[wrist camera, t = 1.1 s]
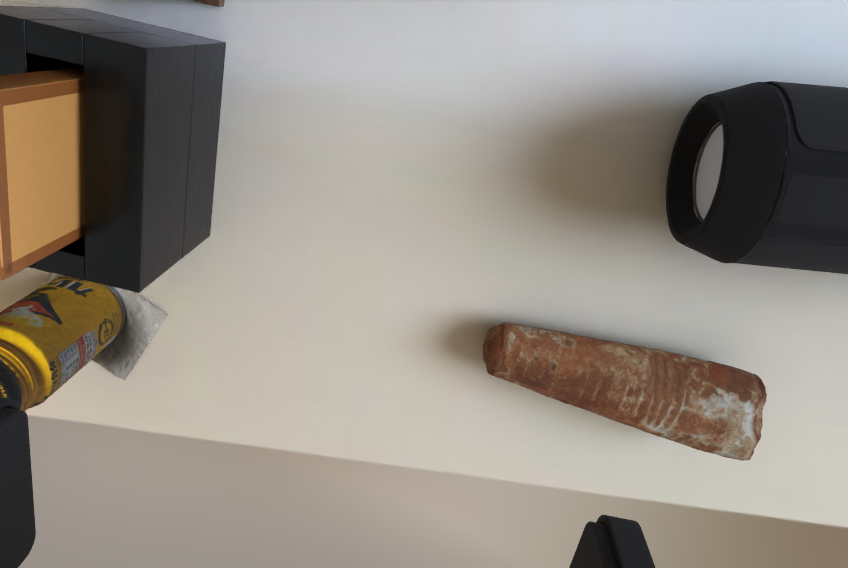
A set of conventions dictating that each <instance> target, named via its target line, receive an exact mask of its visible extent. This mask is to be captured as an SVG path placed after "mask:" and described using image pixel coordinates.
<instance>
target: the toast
mask: <svg viewBox="0 0 848 568" xmlns="http://www.w3.org/2000/svg"><path fill="white" fill-rule="evenodd" d="M83 236H85V228H84V66H83V67H74V68H65V69H56V70H47V71H38V72H29V73H20V74H11V75H2V76H0V280H5V279H6V278H8V277H10V276H12V275H14V274H16V273H17V272H19V271H21V270H23V269H25V268H26V267H28V266H30V265H32V264H34V263H36V262H37V261H39V260H41V259H43V258H45V257H47V256H48V255H50V254H52V253H54V252H56V251H57V250H59V249H61V248H63V247H65V246H67V245H68V244H70V243H72V242H74V241H76V240H78V239H79V238H81V237H83Z"/></svg>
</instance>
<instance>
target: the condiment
mask: <svg viewBox="0 0 848 568" xmlns="http://www.w3.org/2000/svg"><path fill="white" fill-rule="evenodd" d="M166 315H167V314H166V313H165V312H163V311H162V310H160V309H158V308H156V307H155V306H154V305H152V304H151V303H149V302H148V301H145V300H144V299H142V298H141V297H140V296H138V295H137V294H135V293H133V292H131V291H129V290H124V289H120V288H116V287H112V286H107V285H103V284H99V283H94V282H90V281H86V280H82V279H78V278H73V277H69V276H65V275H60V274H56V273H51V275H50V277H49V279H48V281H47V283H46V284H45V285H44V286H43V287H40V288H38V289H36V290H35V291H34V292H32V293H30V294H29V295H28V296H26V297H24V298H23V299H22V300H20V301H18V302H16V303H15V304H13V305H11V306H9V307H8V308H7V309H5V310H3V311H2V312H0V397H4V398H9V399H13V400H16V401H17V403H18V404H19V407H20V410H22V411H25V410H27V409H28V408H32V407H34V406H37V405H39V404H41V403H43V402H44V401H45V400H46V399H47V398H48V397H50V396H51V395H52V394H53V393H54V392H55V391H56V390H58V389H59V388H60V387H61V386H62V385H63V384H64V383H66V382H67V381H68V380H69V379H70V378H71V377H72V376H73V375H74V374H76V373H77V372H78V371H79V370H80V369H81V368H82V367H83V366H85V365H86V364H87V363H88V362H89V361H90V360H91V359H92V360H94V361H95V362H97V363H99V364H101V365H102V366H104V367H105V368H107V369H108V370H109V371H111V372H112V373H113V374H115V375H117V376H119V377H120V378H122V379H124V380H125V379H126V377H127V376H128V374H129V373H130V371H131V370H132V368H133V367H134V365H135V364H136V362H137V361H138V359H139V358H140V356H141V355H142V353H143V351H144V350H145V348H146V347H147V345H148V344H149V342H150V341H151V339H152V337H153V336H154V334H155V332H156V331H157V329H158V328H159V326H160V325H161V323H162V321H163V320H164V318H165V317H166Z"/></svg>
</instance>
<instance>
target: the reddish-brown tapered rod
mask: <svg viewBox="0 0 848 568" xmlns="http://www.w3.org/2000/svg"><path fill="white" fill-rule="evenodd" d="M483 359H484V362H485V364H486V367H487V372H488V373H489V374H491V375H493V376H496V377H499V378H502V379H504V380H507V381H510V382H512V383H516V384H518V385H521V386H523V387H526V388H528V389H531V390H533V391H536V392H538V393H540V394H543V395H545V396H548V397H551V398H554V399H557V400H559V401H561V402H563V403H567V404H571V405H573V406H576V407H579V408H582V409H585V410H588V411H591V412H593V413H596V414H599V415H601V416H604V417H606V418H609V419H612V420H615V421H617V422H620V423H623V424H626V425H629V426H632V427H635V428H637V429H640V430H642V431H645V432H648V433H651V434H654V435H656V436H659V437H663V438H666V439H669V440H672V441H675V442H678V443H681V444H684V445H686V446H689V447H692V448H695V449H698V450H701V451H705V452H709V453H713V454H718V455H720V456H723V457H728V458H732V459H738V460H750V458H751V456H752V455H753V452H754V448H755V447H756V445H757V443H758V442H759V440H760V437H761V428H762V410H763V406H764V404H765V401H766V396H767V394H766V390H765V386H764V384H763V382H762V380H761V379H760V378H759V377H758V376H757V375H755V374H752V373H749V372H747V371H744V370H741V369H738V368H734V367H731V366H727V365H723V364H718V363H715V362H711V361H703V360H700V359H695V358H691V357H687V356H683V355H679V354H674V353H669V352H665V351H660V350H655V349H649V348H645V347H639V346H634V345H627V344H622V343H616V342H611V341H606V340H598V339H593V338H588V337H583V336H577V335H573V334H568V333H563V332H558V331H552V330H546V329H541V328H533V327H526V326H521V325H517V324H510V323H502V324H500V325H497V326H495V327H493V328H492V329H491V330H490V331H489V333H488V334H487V336H486V338H485V341H484V344H483Z"/></svg>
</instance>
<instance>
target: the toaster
mask: <svg viewBox="0 0 848 568" xmlns="http://www.w3.org/2000/svg"><path fill="white" fill-rule="evenodd" d="M225 46H226V43H225V42H221V41H217V40H213V39H209V38H205V37H200V36H196V35H192V34H188V33H184V32H179V31H175V30H171V29H167V28H163V27H159V26H154V25H150V24H146V23H142V22H138V21H133V20H129V19H125V18H121V17H117V16H113V15H108V14H104V13H100V12H96V11H92V10H88V9H81V8H53V7H21V6H0V76H2V75H11V74H20V73H29V72H38V71H47V70H56V69H65V68H74V67H83V66H84V228H85V236H83V237H81V238H79V239H78V240H76V241H74V242H72V243H70V244H68V245H67V246H65V247H63V248H61V249H59V250H57V251H56V252H54V253H52V254H50V255H48V256H47V257H45V258H43V259H41V260H39V261H37V262H36V263H34V264H32V265H30V266H28V267H30V268H36V269H39V270H43V271H47V272H52V273H56V274H60V275H65V276H69V277H73V278H78V279H82V280H86V281H90V282H94V283H99V284H103V285H107V286H112V287H116V288H120V289H124V290H129V291H133V292H137V293H139V292H141V291H142V290H143V289H144V288H145V287H147V286H148V285H149V284H150V283H152V282H153V281H154V280H155V279H157V278H158V277H159V276H160V275H162V274H163V273H164V272H165V271H167V270H168V269H169V268H170V267H171V266H173V265H174V264H175V263H176V262H178V261H179V260H180V259H181V258H183V257H184V256H185V255H187V254H188V253H189V252H190V251H191V250H193V249H194V248H195V247H196V246H198V245H199V244H200V243H201V242H203V241H204V240H205V239H206V238H208V237H209V236H210V226H211V214H212V202H213V190H214V178H215V166H216V154H217V142H218V130H219V118H220V106H221V94H222V82H223V70H224V58H225Z"/></svg>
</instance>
